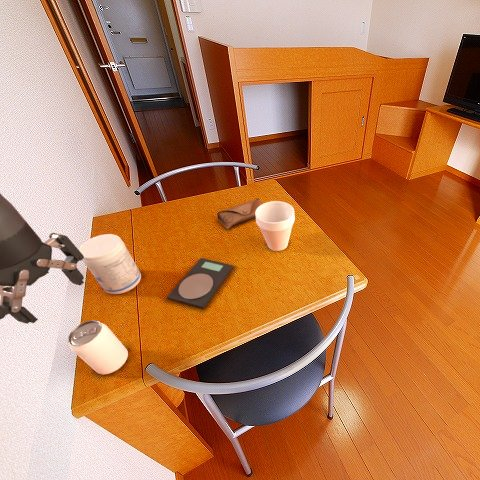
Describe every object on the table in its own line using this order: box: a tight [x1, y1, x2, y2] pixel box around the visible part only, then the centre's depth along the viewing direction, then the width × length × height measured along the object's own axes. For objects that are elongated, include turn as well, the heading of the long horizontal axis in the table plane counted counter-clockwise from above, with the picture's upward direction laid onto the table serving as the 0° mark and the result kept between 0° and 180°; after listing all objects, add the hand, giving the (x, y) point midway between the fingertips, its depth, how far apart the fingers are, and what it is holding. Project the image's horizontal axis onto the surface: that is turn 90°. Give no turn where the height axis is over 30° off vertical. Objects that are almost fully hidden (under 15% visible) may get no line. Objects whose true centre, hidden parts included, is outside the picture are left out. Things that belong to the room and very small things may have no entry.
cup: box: [255, 200, 296, 252], centre depth 90 cm, size 12×12×14 cm
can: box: [67, 319, 129, 375], centre depth 59 cm, size 6×6×12 cm
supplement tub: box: [78, 233, 142, 295], centre depth 75 cm, size 10×10×15 cm
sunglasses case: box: [216, 197, 263, 230], centre depth 105 cm, size 18×7×7 cm, turn 130°
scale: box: [166, 257, 234, 310], centre depth 80 cm, size 16×11×2 cm
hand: (56, 300), depth 49 cm, fingers open, 8 cm apart
